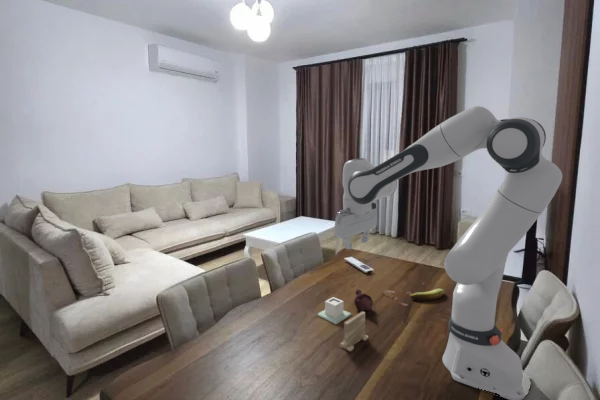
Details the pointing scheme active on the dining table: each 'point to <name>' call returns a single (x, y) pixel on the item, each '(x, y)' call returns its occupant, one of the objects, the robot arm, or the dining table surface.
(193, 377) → the dining table surface
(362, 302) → the maroon gnome figurine
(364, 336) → the oak screen
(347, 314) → the green tile
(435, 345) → the dining table surface
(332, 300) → the letter cube
